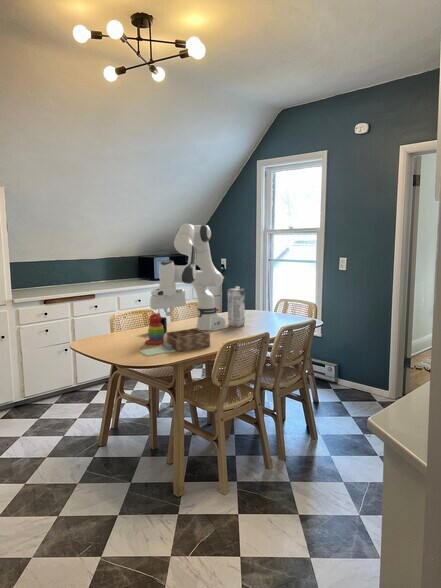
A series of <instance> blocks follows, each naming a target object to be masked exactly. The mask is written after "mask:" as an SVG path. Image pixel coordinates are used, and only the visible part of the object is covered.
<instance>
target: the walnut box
mask: <svg viewBox="0 0 441 588" xmlns="http://www.w3.org/2000/svg"><path fill="white" fill-rule="evenodd" d="M166 343H168V344H170V345H172V347H173V349H175V350H176V352H177V353H182V352H186V351H192V350H199V349H203V348H209V347H211V332H210V331H208V332H205V331H204V330H198V328H196V327H195V328H188V329H181V330H174V331H169V332H168V331H167V332H166Z"/></svg>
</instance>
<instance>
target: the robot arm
mask: <svg viewBox="0 0 441 588" xmlns="http://www.w3.org/2000/svg"><path fill="white" fill-rule="evenodd" d="M211 237H212V230H211V227H210V226H209V225H207V224H190V223H183V224H182V225H181V226H180V227H179V228H178V229H177V231H176V235H175V238H174V240H173V246H174V249H175V250H176V251H177V252H178V253H179V254H181V255H185V256H187V257H188V259H187V264H185V265H177V264H175V263H174V260H172V259H169V260H168V259H166V260H163V261H160V263H159V266H158V278H159V286H158V287H157V288H155V289H153V290H151V292H150V294H151V296H150V299H149V307H150V309H152V310H154V311H156V310H160V309H161V310H163V311H164V312H165V316H166V317H168V316H169V317H170V316H173V311H174V309H175V307H176V308H177V307H185V306H186V304H187V299H186V291H185V290H184V289H182V288H180V289H177V283H178V284H179V283H180V284H190V285H191V286H192V287H193V289H194V291H195V293H196V297H197V310H196V311H197V313H196V314H197V319H196V320H197V321H196V326H195V328H198V330H200V331H209V332H210V331H211V332H212V331H213V332H214V331H219V330H222V329H223V330H224V329H226V328H229V327H230V326H229V325H228V324H226V320H225V317H224V316H222V315H220V313H218V312H219V311H220V307H215V296H214V294H213V293H212V292H211V291H210V290H209V288H212V289H213V288H219V287H221V286H222V285H223V282H224V277H223V274H222V272H220V271H218V269H217V268H216V267H215V265H214V263H213V261H212V255H211V249H210V244H209V241H210V240H211ZM197 266H198V267H199V269H200V270H199V269H198V270H197ZM168 309H170V310H169V311H168Z"/></svg>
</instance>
